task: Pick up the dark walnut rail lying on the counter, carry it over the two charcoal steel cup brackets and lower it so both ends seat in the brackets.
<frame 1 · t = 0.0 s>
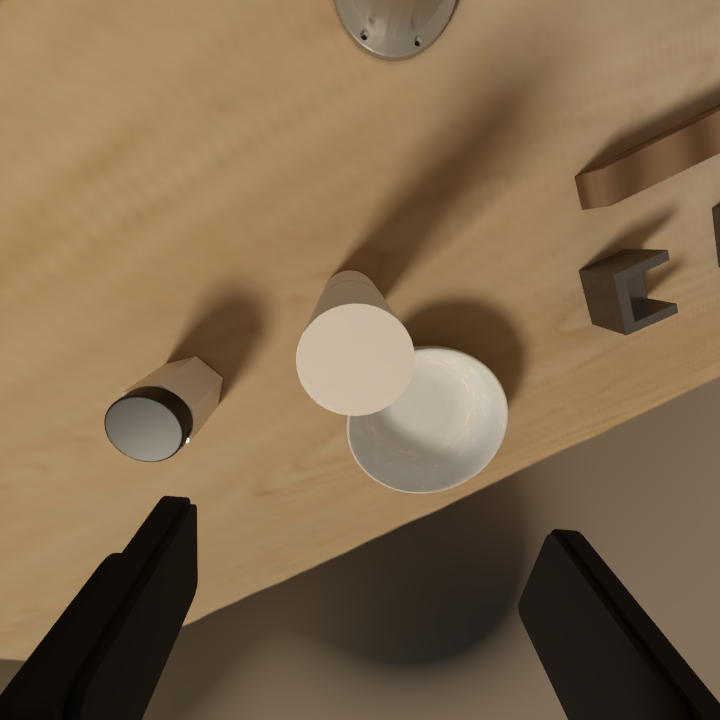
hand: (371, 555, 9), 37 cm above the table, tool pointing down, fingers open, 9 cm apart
serving bowl: (416, 402, 49), on the table
walnut rail: (654, 155, 40), on the table
jar: (193, 384, 47), on the table
cylindrical container: (350, 298, 44), on the table
bracket 1: (612, 285, 45), on the table
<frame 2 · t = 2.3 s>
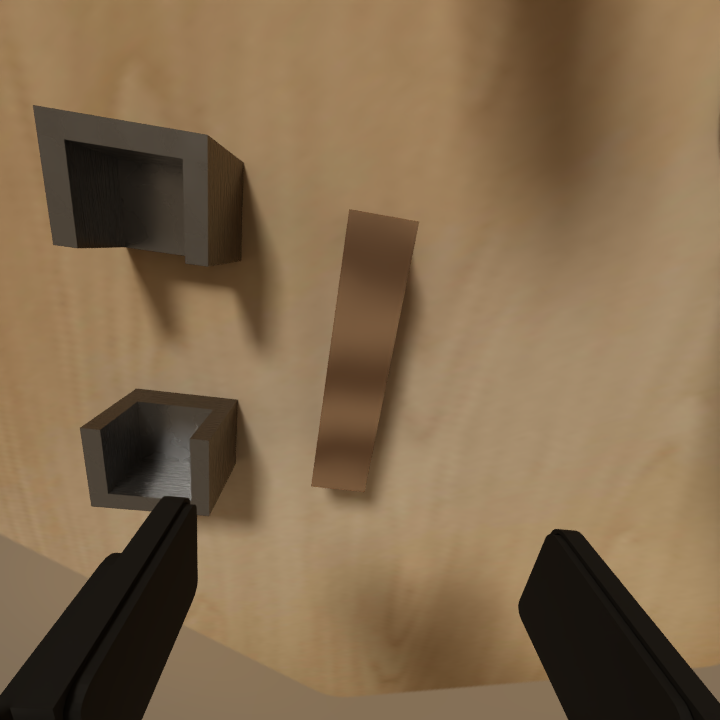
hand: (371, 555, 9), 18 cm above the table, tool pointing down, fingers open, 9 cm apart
walnut rail: (356, 348, 27), on the table
bracket 1: (182, 214, 23), on the table
bracket 2: (188, 421, 28), on the table
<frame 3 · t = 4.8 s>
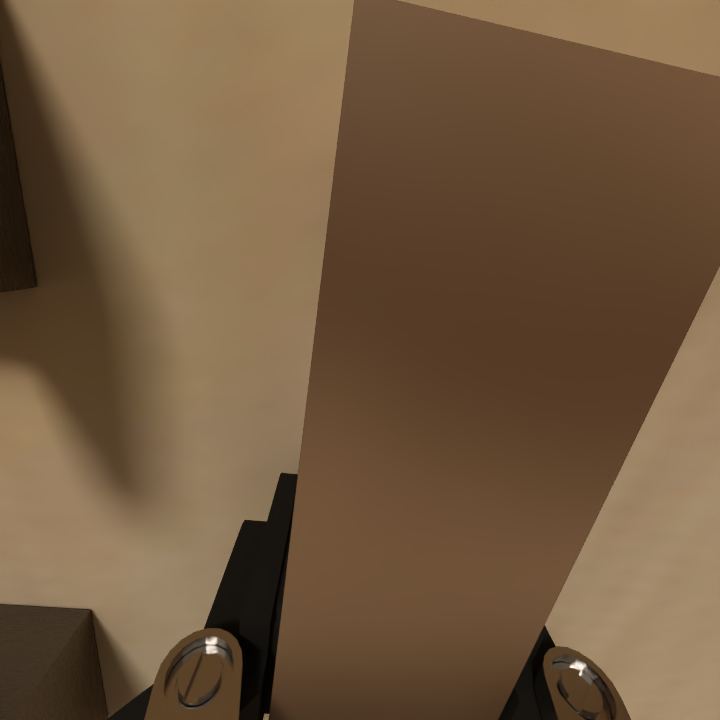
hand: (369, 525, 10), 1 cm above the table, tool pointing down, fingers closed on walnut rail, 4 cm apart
walnut rail: (367, 507, 11), on the table, touching gripper
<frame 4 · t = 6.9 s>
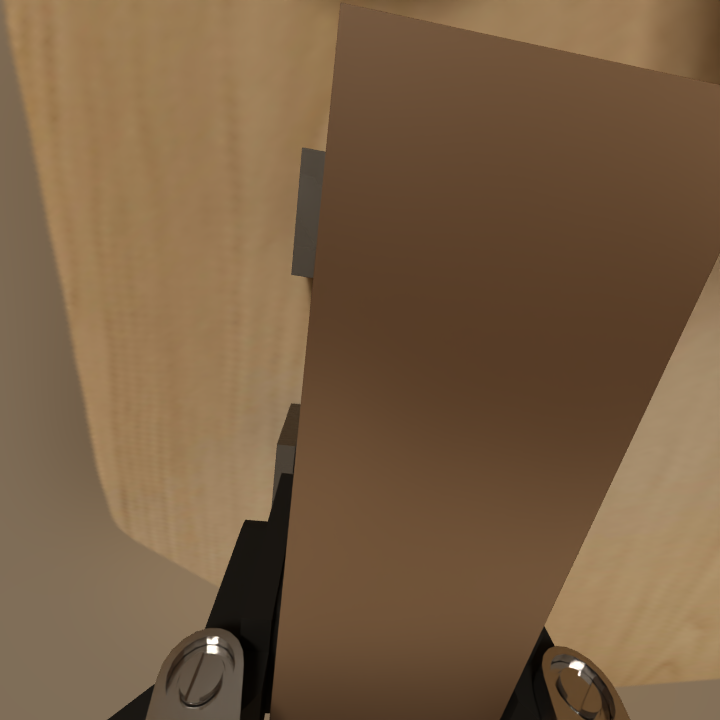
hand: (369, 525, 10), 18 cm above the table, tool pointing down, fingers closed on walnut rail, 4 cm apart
walnut rail: (367, 509, 11), point 17 cm above the table, touching gripper
bracket 1: (363, 239, 24), on the table
bracket 2: (334, 434, 29), on the table
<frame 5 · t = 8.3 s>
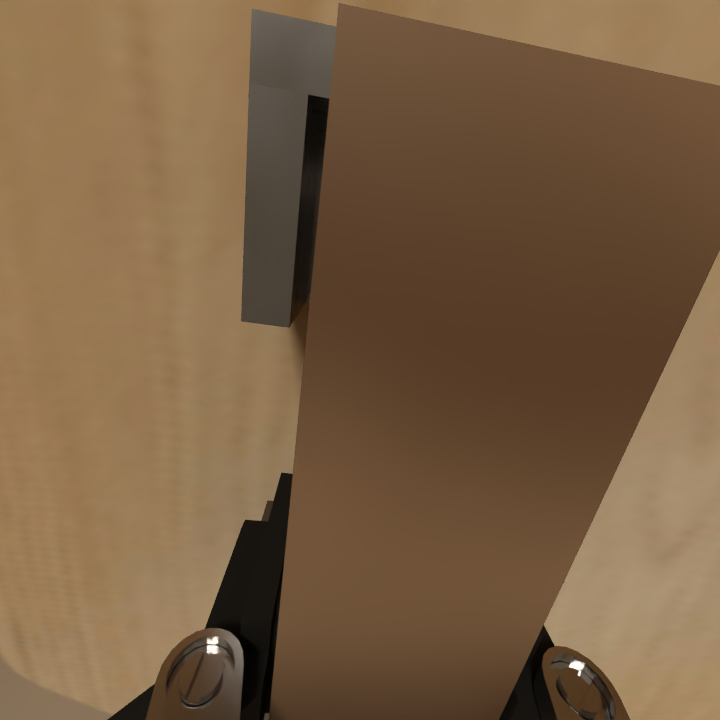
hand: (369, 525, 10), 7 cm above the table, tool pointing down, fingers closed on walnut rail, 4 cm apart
walnut rail: (367, 509, 11), point 6 cm above the table, touching gripper
bracket 1: (384, 242, 14), on the table
when the fingers open (3 cm above the table, at t = 9.3 s): walnut rail stays where it is, resting on bracket 2, bracket 1.
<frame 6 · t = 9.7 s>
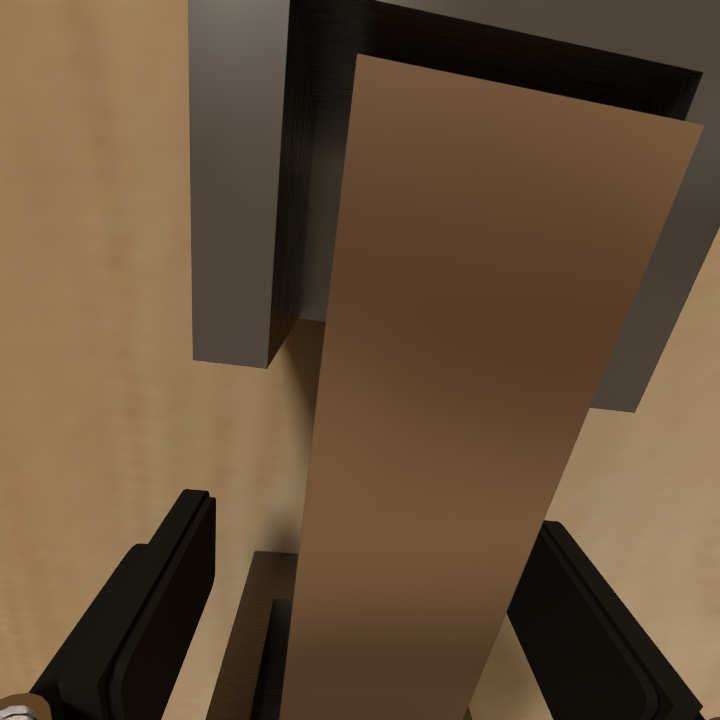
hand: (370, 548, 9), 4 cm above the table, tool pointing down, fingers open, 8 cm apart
walnut rail: (370, 488, 11), point 2 cm above the table, touching bracket 2, bracket 1
bracket 1: (399, 240, 11), on the table
bracket 2: (337, 597, 16), on the table
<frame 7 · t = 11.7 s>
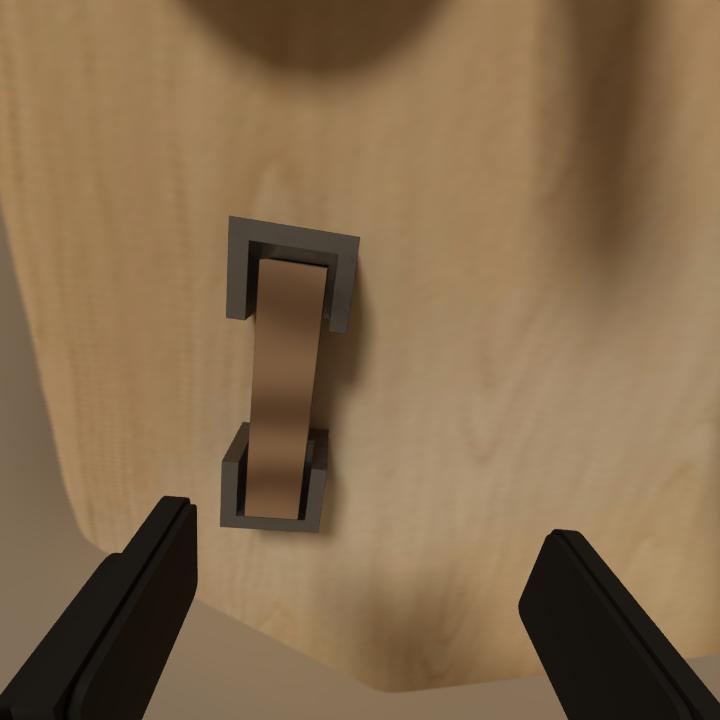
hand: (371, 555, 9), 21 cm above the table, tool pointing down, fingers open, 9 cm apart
walnut rail: (290, 379, 28), point 2 cm above the table, touching bracket 2, bracket 1
bracket 1: (300, 279, 27), on the table
bracket 2: (284, 449, 32), on the table
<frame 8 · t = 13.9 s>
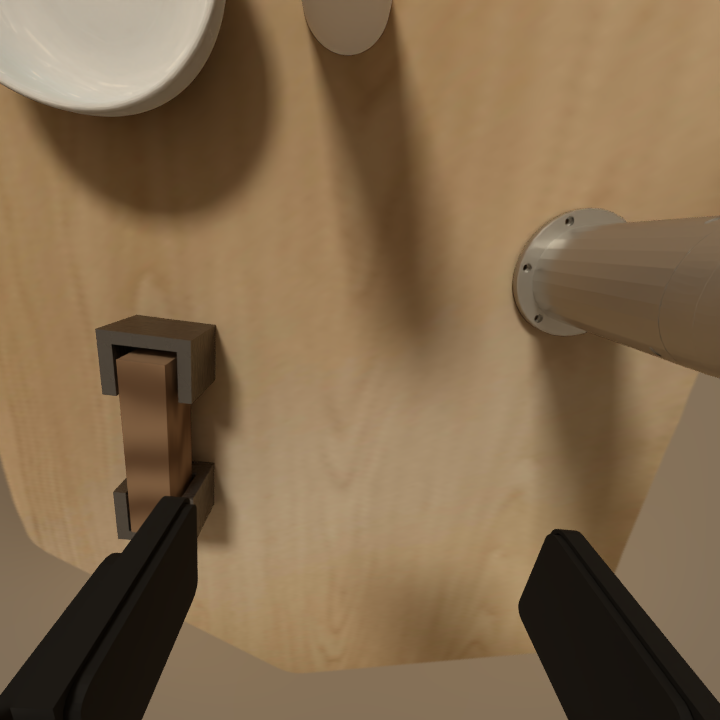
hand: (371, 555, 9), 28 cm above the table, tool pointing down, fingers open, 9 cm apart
walnut rail: (172, 428, 37), point 2 cm above the table, touching bracket 2, bracket 1
cylindrical container: (346, 1, 27), on the table
bracket 1: (177, 353, 36), on the table
bracket 2: (180, 477, 41), on the table
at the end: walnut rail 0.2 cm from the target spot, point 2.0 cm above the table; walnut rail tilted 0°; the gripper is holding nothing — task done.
